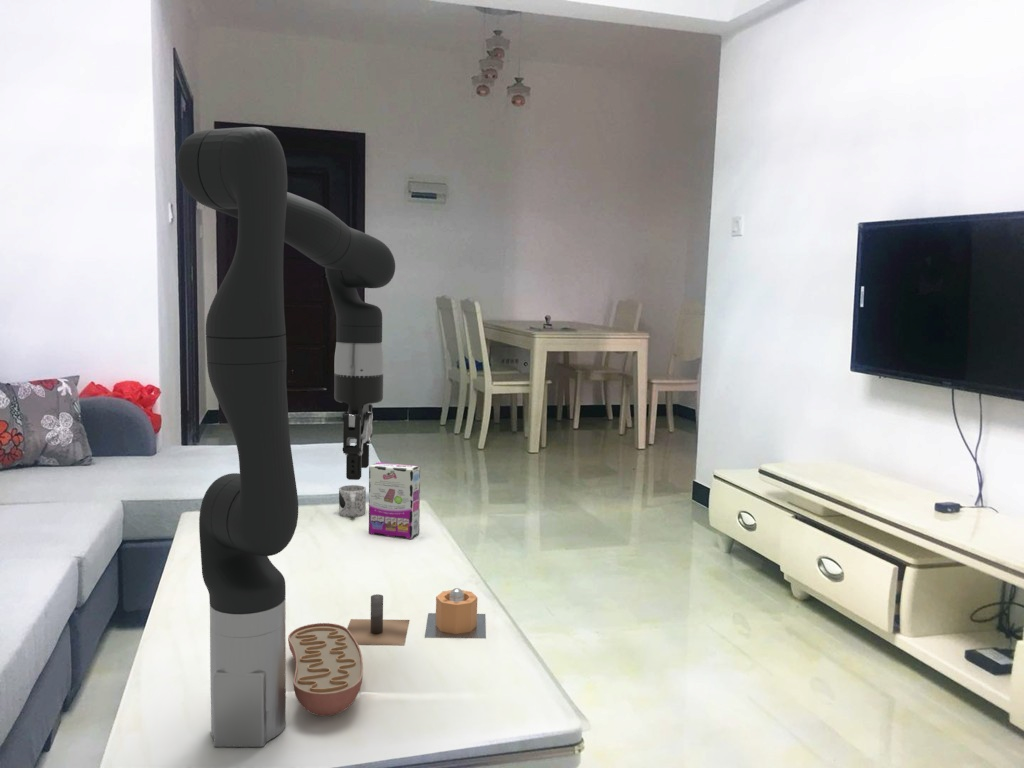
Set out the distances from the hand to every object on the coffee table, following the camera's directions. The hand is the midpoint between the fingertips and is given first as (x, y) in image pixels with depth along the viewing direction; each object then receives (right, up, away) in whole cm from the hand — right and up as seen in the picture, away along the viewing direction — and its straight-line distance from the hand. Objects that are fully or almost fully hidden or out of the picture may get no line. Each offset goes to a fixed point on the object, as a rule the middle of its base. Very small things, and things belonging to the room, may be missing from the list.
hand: (358, 473), depth 128 cm
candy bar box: (-3, -21, +62) cm, 65 cm away
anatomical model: (-2, -30, -11) cm, 32 cm away
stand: (+2, -28, +5) cm, 28 cm away
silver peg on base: (+15, -28, +9) cm, 33 cm away
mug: (-16, -19, +76) cm, 80 cm away
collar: (+15, -27, +9) cm, 32 cm away
